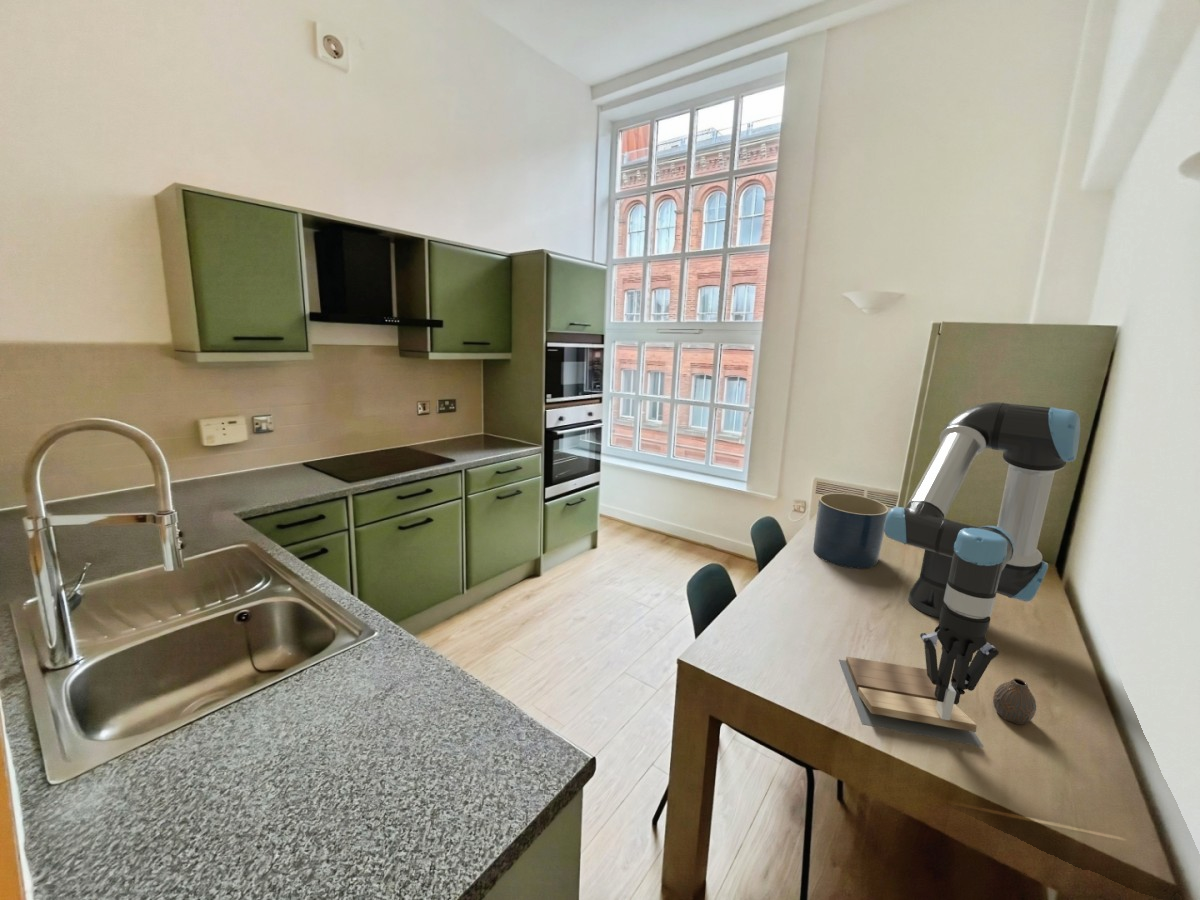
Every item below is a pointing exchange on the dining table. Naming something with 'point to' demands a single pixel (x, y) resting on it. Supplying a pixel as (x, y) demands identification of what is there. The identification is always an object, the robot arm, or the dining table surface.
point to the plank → (913, 709)
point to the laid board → (891, 678)
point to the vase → (1015, 701)
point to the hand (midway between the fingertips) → (942, 714)
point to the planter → (849, 530)
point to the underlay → (904, 724)
